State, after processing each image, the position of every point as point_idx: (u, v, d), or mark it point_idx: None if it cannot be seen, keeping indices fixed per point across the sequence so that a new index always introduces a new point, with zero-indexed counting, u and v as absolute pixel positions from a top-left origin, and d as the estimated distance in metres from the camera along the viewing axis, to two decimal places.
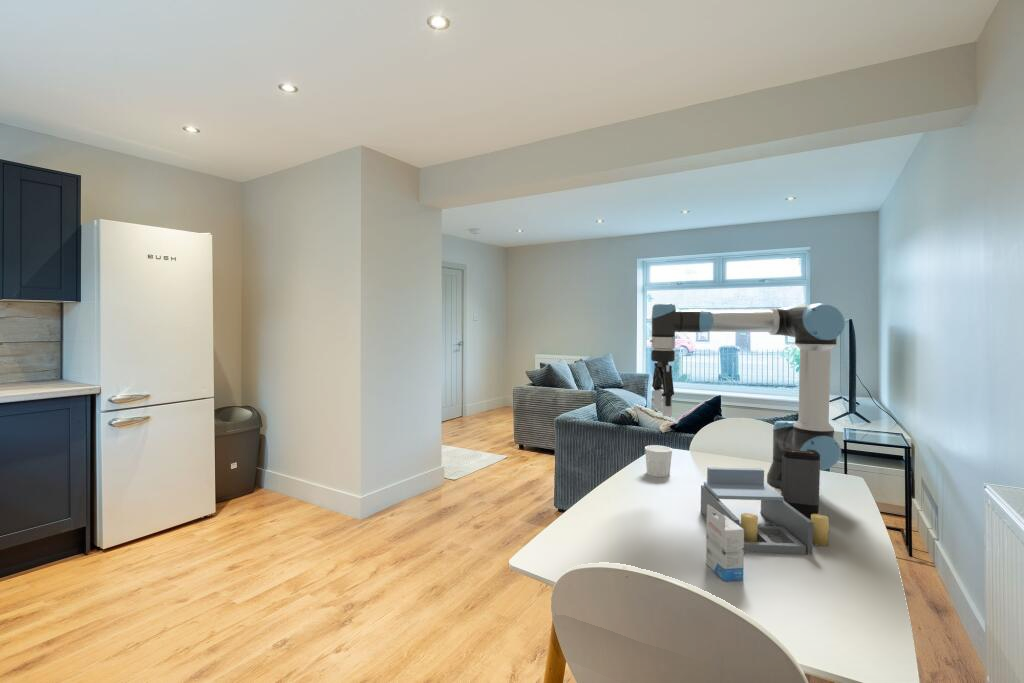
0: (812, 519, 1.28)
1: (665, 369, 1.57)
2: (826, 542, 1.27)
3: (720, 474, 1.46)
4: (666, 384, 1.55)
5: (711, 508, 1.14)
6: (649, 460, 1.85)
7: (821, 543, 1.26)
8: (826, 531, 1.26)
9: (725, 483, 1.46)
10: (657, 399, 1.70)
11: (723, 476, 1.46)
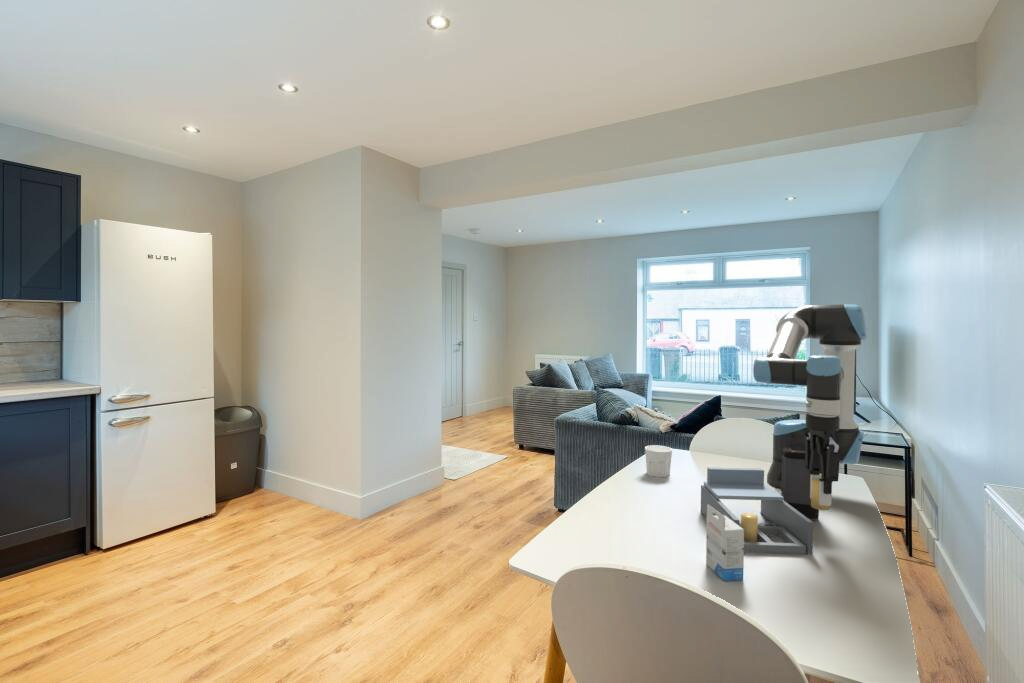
0: (813, 484, 1.28)
1: (832, 450, 1.21)
2: (827, 506, 1.27)
3: (720, 474, 1.46)
4: (830, 469, 1.22)
5: (711, 508, 1.14)
6: (649, 460, 1.85)
7: (822, 507, 1.26)
8: None
9: (725, 483, 1.46)
10: None
11: (723, 476, 1.46)
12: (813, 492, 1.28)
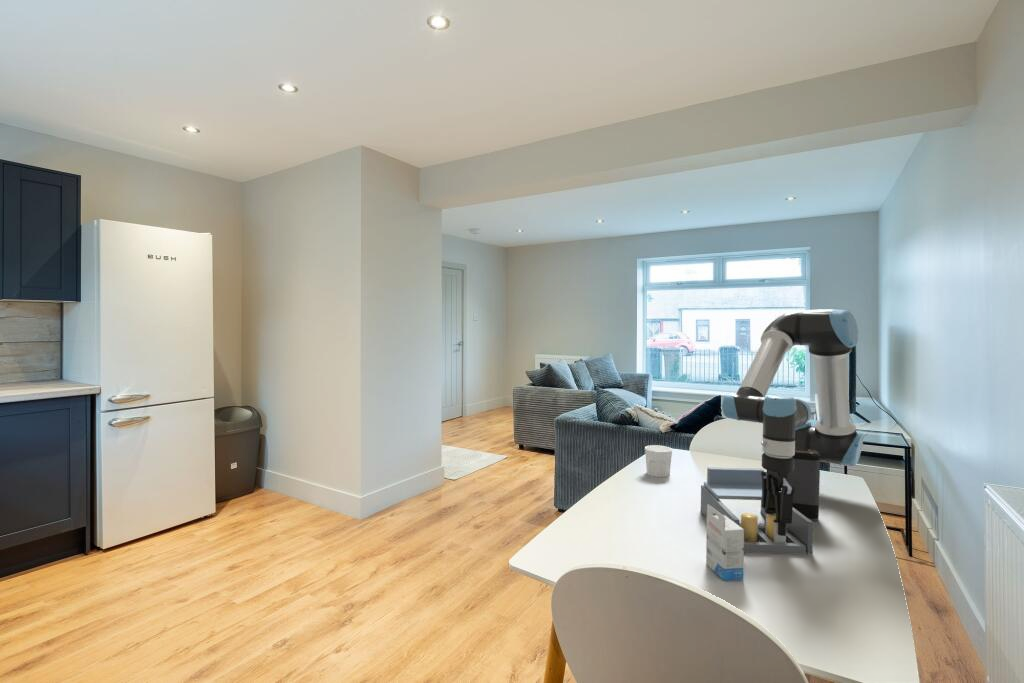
0: (768, 519, 1.28)
1: (785, 492, 1.21)
2: None
3: (720, 474, 1.46)
4: (783, 511, 1.22)
5: (711, 508, 1.14)
6: (649, 460, 1.85)
7: None
8: None
9: (725, 483, 1.46)
10: None
11: (723, 476, 1.46)
12: (768, 528, 1.28)
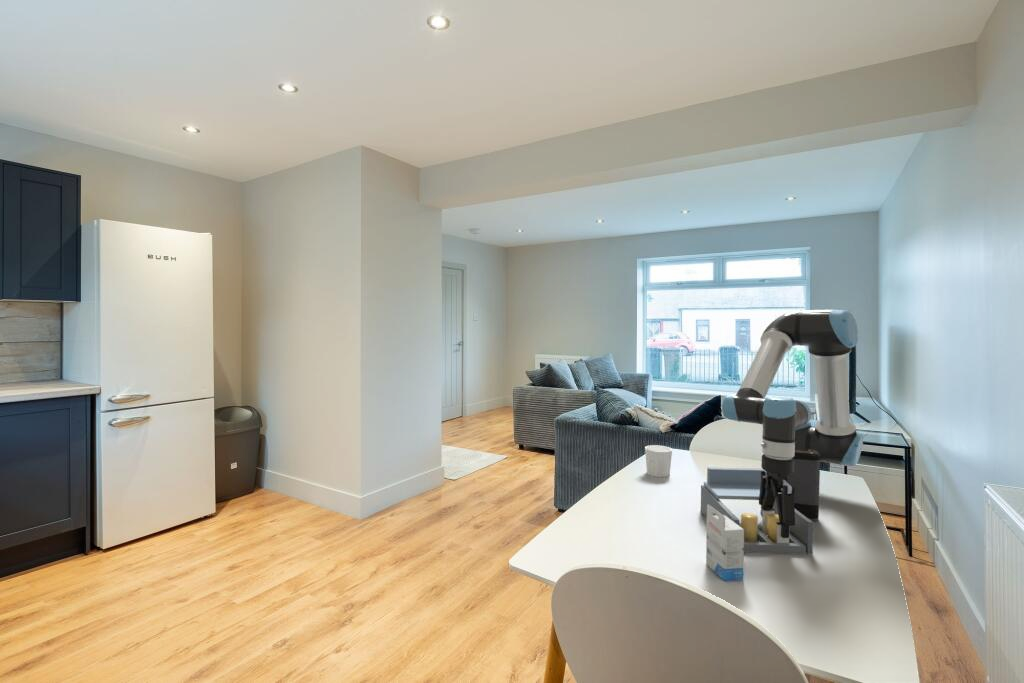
0: (768, 519, 1.28)
1: (786, 491, 1.21)
2: None
3: (720, 474, 1.46)
4: (786, 512, 1.21)
5: (711, 508, 1.14)
6: (649, 460, 1.85)
7: None
8: None
9: (725, 483, 1.46)
10: None
11: (723, 476, 1.46)
12: (769, 528, 1.28)
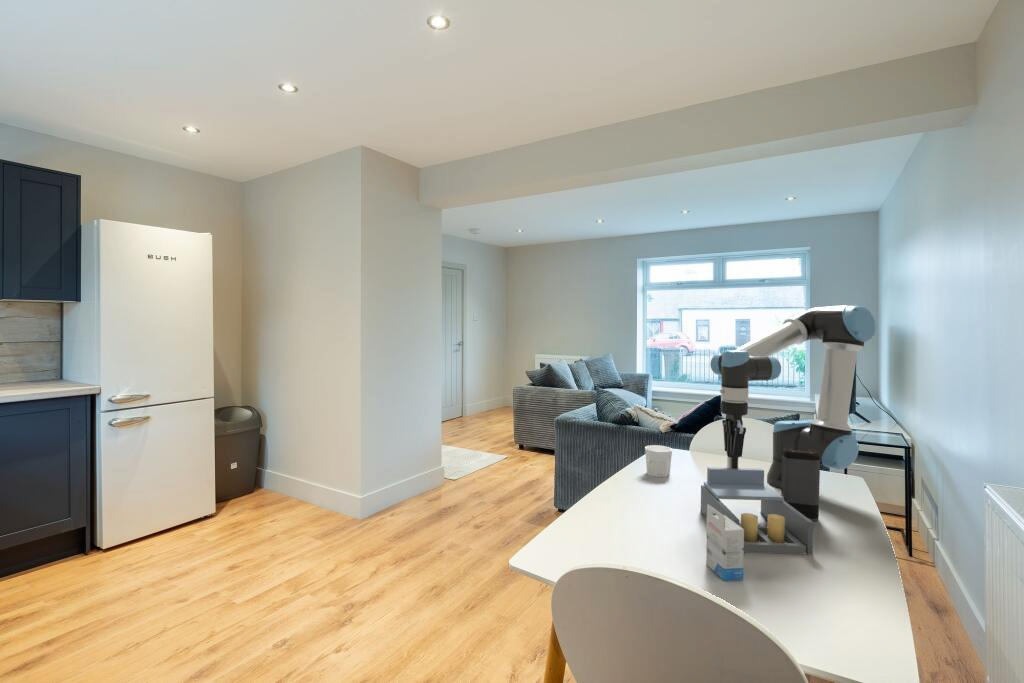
0: (768, 519, 1.28)
1: (738, 432, 1.42)
2: (782, 542, 1.26)
3: (720, 474, 1.46)
4: (735, 447, 1.44)
5: (711, 508, 1.14)
6: (649, 460, 1.85)
7: None
8: (782, 531, 1.26)
9: (725, 483, 1.46)
10: None
11: (723, 476, 1.46)
12: (769, 528, 1.28)
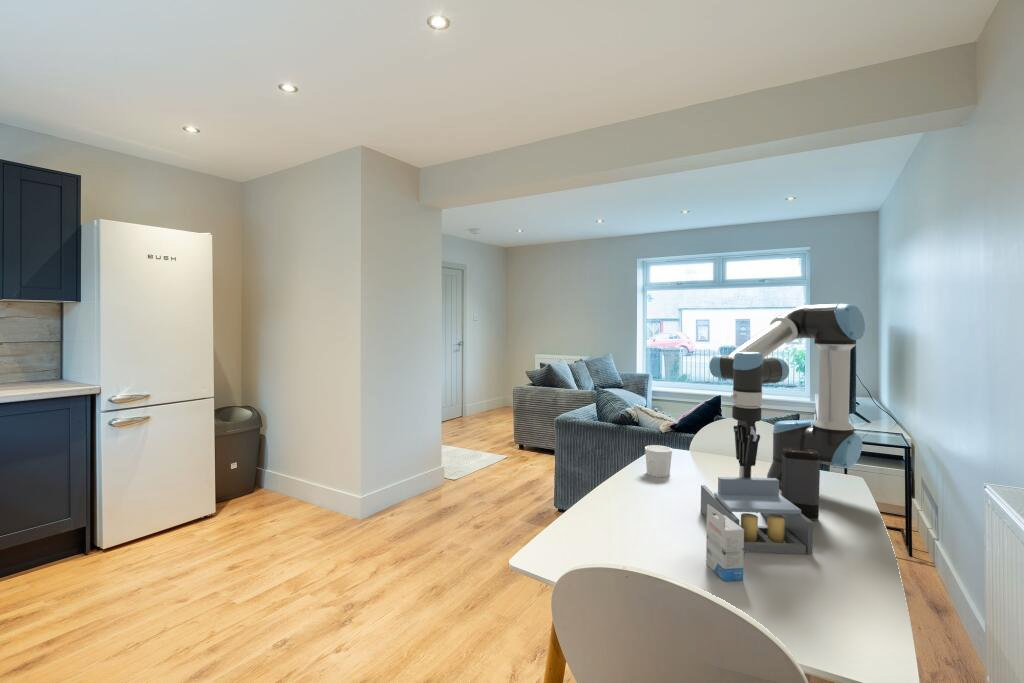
0: (768, 519, 1.28)
1: (751, 440, 1.33)
2: (782, 542, 1.26)
3: (732, 484, 1.37)
4: (748, 455, 1.35)
5: (711, 508, 1.14)
6: (649, 460, 1.85)
7: None
8: (782, 531, 1.26)
9: (737, 494, 1.37)
10: None
11: (735, 486, 1.37)
12: (769, 528, 1.28)
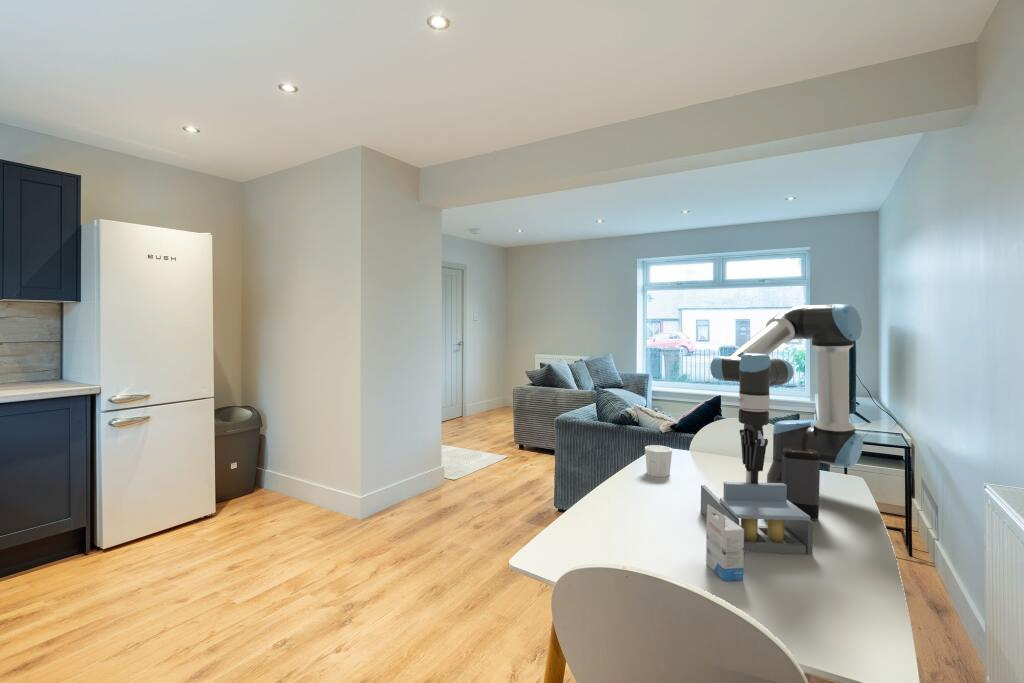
0: (768, 519, 1.28)
1: (759, 444, 1.29)
2: (782, 542, 1.26)
3: (738, 489, 1.33)
4: (756, 460, 1.30)
5: (711, 508, 1.14)
6: (649, 460, 1.85)
7: None
8: (782, 531, 1.26)
9: (744, 499, 1.32)
10: None
11: (741, 492, 1.33)
12: (769, 528, 1.28)
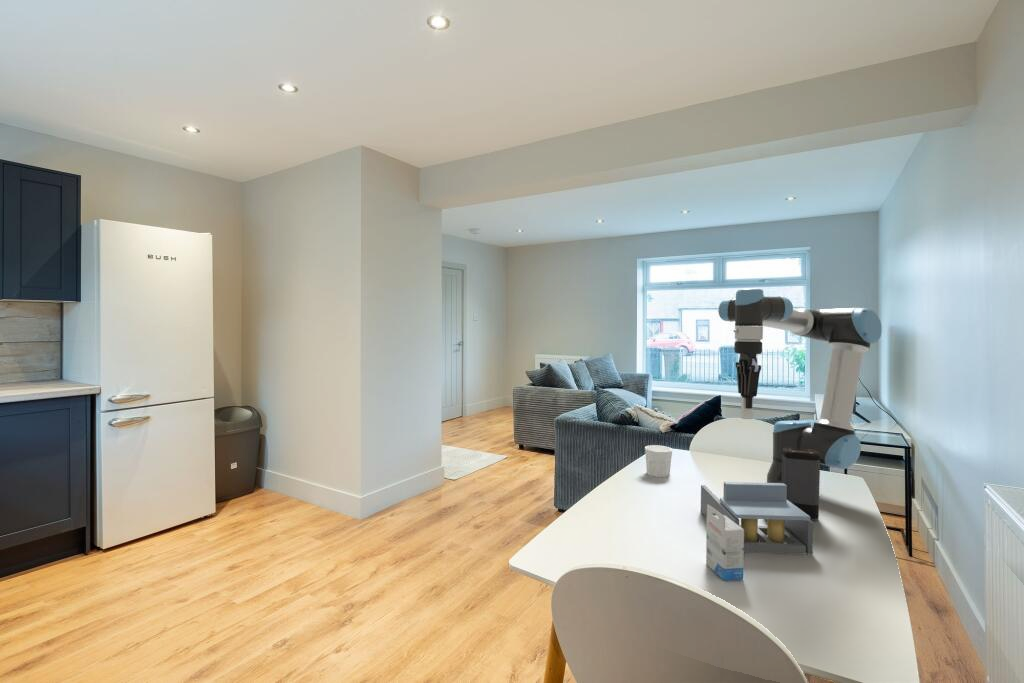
0: (768, 519, 1.28)
1: (753, 370, 1.40)
2: (782, 542, 1.26)
3: (738, 489, 1.33)
4: (750, 386, 1.41)
5: (711, 508, 1.14)
6: (649, 460, 1.85)
7: None
8: (782, 531, 1.26)
9: (744, 499, 1.32)
10: (746, 408, 1.46)
11: (741, 492, 1.33)
12: (769, 528, 1.28)
